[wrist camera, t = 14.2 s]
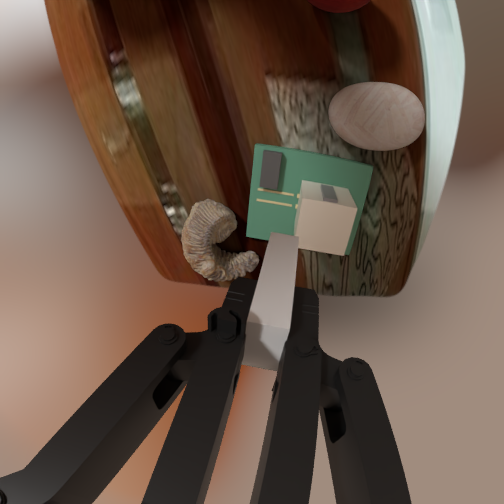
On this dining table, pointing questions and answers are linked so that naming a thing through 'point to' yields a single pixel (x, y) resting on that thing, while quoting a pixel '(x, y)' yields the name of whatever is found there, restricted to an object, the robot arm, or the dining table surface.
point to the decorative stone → (377, 116)
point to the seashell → (203, 243)
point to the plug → (324, 217)
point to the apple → (338, 5)
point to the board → (298, 187)
